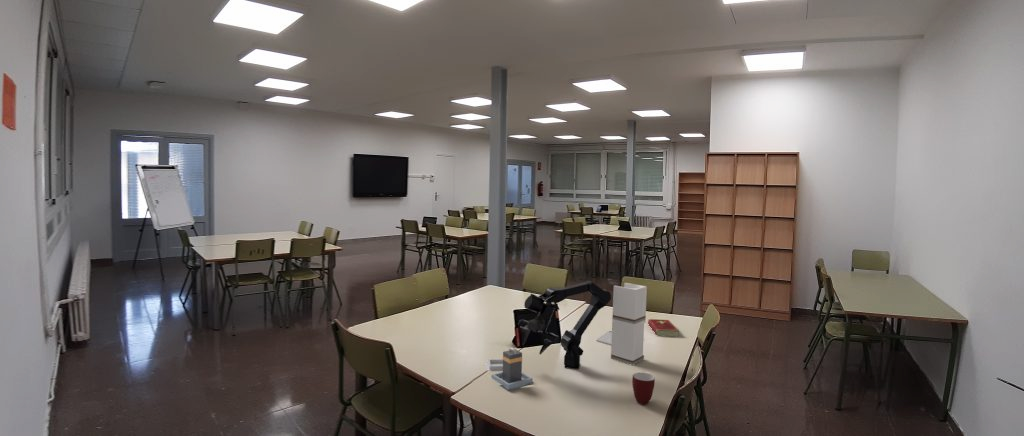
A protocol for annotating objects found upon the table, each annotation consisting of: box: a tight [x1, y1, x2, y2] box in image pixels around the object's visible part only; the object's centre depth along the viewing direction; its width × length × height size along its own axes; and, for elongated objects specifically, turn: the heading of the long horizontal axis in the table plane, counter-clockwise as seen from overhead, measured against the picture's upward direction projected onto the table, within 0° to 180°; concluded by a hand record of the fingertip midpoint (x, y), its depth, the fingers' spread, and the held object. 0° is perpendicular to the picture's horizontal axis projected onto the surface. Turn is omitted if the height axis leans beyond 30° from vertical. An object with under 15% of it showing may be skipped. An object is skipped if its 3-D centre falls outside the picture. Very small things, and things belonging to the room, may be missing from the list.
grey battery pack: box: [501, 347, 523, 383], centre depth 194 cm, size 6×5×13 cm
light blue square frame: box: [491, 371, 533, 392], centre depth 194 cm, size 12×12×2 cm
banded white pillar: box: [610, 282, 648, 366], centre depth 223 cm, size 11×11×35 cm
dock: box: [484, 358, 503, 372], centre depth 209 cm, size 12×10×2 cm
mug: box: [631, 372, 656, 405], centre depth 180 cm, size 10×8×10 cm
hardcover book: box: [647, 318, 680, 337], centre depth 271 cm, size 12×21×4 cm, turn 176°
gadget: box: [595, 330, 612, 346], centre depth 252 cm, size 23×15×4 cm, turn 136°
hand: (531, 349), depth 205 cm, fingers open, 9 cm apart
